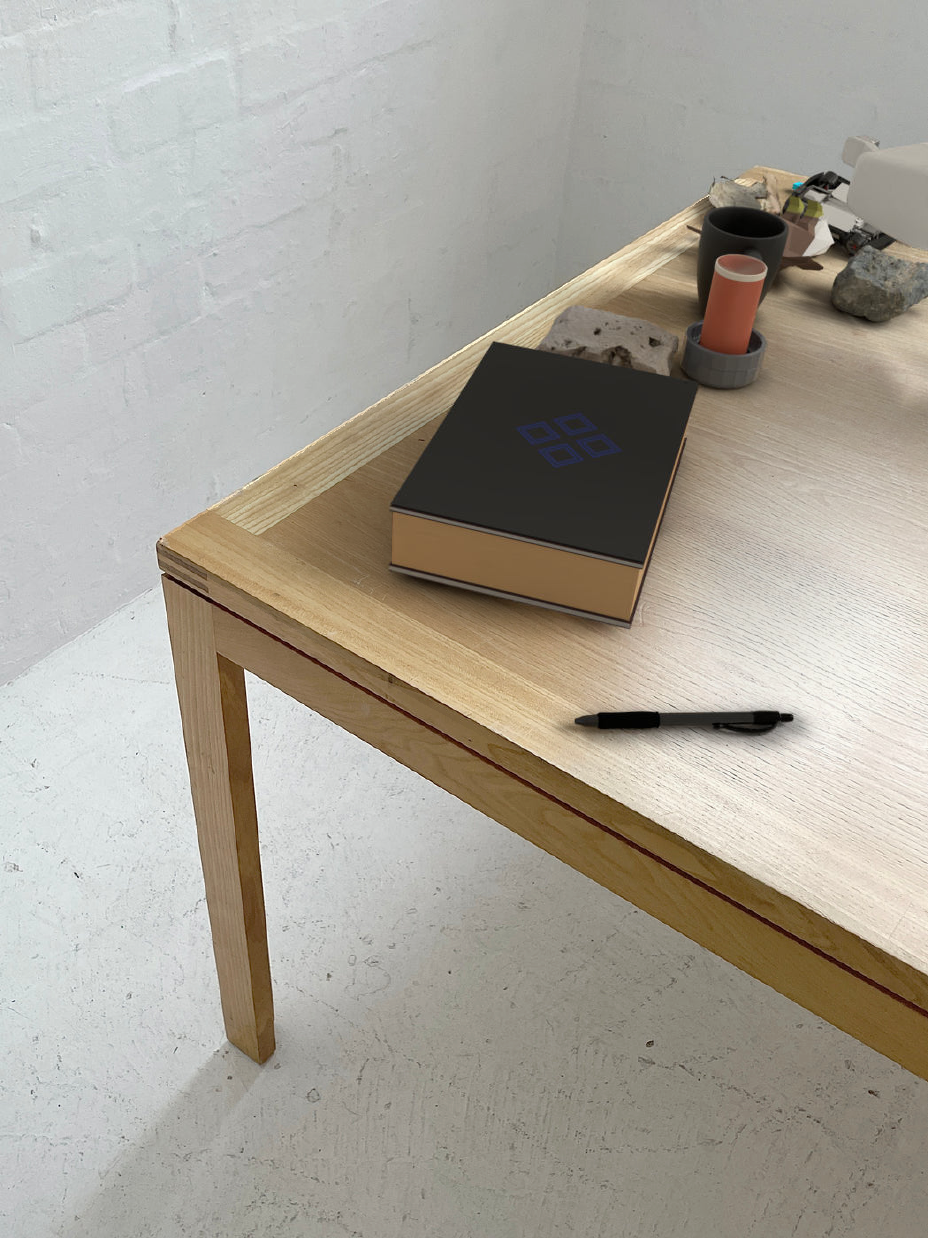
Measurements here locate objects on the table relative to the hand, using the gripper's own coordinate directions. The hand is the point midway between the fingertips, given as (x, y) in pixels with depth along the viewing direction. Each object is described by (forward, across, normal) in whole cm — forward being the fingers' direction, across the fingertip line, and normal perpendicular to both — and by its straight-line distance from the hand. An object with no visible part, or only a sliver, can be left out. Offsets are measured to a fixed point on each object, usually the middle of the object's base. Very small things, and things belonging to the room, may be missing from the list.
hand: (897, 138), depth 82 cm
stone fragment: (+41, -27, +22) cm, 54 cm away
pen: (-23, +32, +24) cm, 46 cm away
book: (0, +27, +25) cm, 37 cm away
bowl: (+12, 0, +25) cm, 28 cm away
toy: (+30, -28, +18) cm, 45 cm away
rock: (+16, -26, +26) cm, 40 cm away
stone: (+16, +10, +25) cm, 32 cm away
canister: (+12, 0, +24) cm, 27 cm away
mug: (+20, -8, +25) cm, 33 cm away
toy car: (+31, -34, +21) cm, 50 cm away
